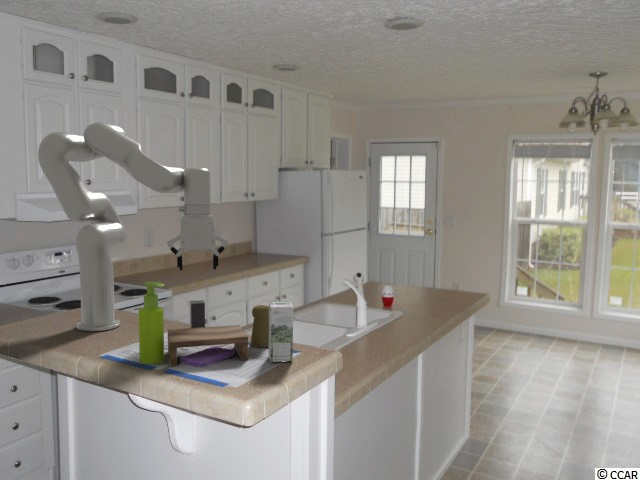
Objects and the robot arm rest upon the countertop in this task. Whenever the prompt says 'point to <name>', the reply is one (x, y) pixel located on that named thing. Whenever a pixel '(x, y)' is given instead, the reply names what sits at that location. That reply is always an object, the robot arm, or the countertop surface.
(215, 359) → the sponges
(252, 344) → the cork
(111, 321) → the robot arm
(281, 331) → the syrup box
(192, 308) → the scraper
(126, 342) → the countertop surface
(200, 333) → the low shelf
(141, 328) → the soap dispenser
